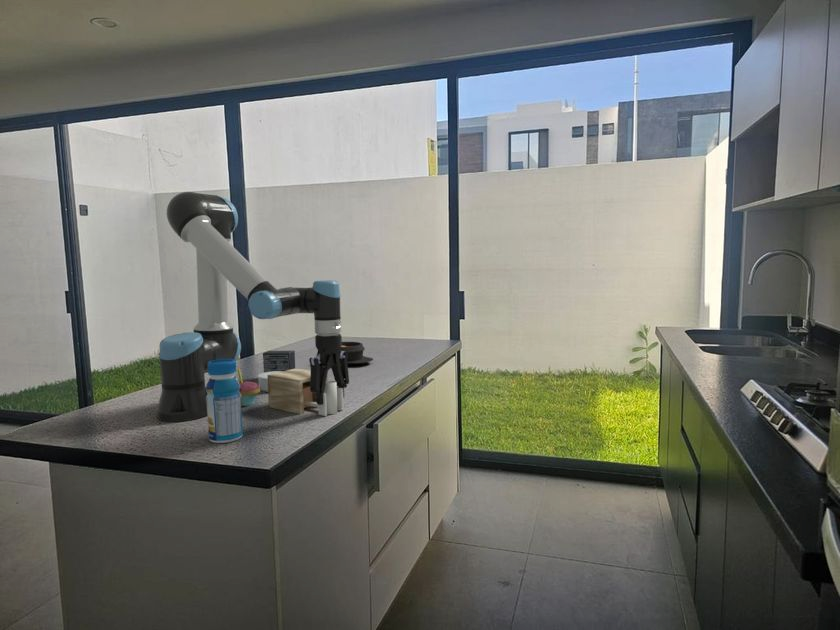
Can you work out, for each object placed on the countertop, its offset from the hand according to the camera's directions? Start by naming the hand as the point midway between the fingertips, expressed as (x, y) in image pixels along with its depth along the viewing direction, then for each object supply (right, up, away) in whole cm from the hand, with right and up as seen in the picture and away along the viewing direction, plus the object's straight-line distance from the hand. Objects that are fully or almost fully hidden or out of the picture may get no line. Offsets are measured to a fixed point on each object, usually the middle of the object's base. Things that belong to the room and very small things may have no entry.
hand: (331, 411), depth 160 cm
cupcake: (-28, 0, +11) cm, 31 cm away
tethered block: (-6, 0, +4) cm, 7 cm away
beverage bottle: (-23, -3, -21) cm, 32 cm away
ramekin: (-25, +2, +30) cm, 39 cm away
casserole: (-6, +7, +74) cm, 75 cm away
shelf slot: (-11, 0, +8) cm, 14 cm away
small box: (-27, +4, +46) cm, 54 cm away
